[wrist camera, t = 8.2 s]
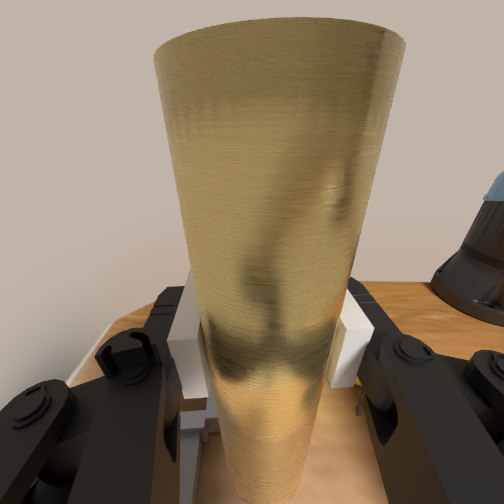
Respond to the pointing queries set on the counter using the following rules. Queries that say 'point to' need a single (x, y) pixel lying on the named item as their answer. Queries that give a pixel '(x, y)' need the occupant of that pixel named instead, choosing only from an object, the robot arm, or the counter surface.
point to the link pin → (274, 214)
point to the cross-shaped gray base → (195, 445)
